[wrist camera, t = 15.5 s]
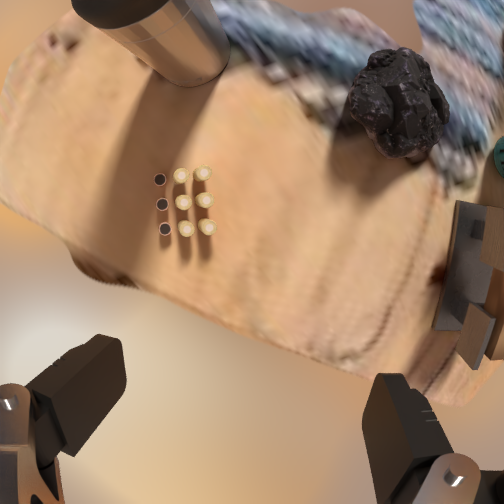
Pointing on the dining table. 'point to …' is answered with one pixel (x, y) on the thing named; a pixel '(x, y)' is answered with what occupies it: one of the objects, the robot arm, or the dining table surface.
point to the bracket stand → (471, 278)
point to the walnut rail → (496, 315)
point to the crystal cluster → (399, 103)
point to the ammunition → (187, 202)
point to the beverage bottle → (499, 156)
